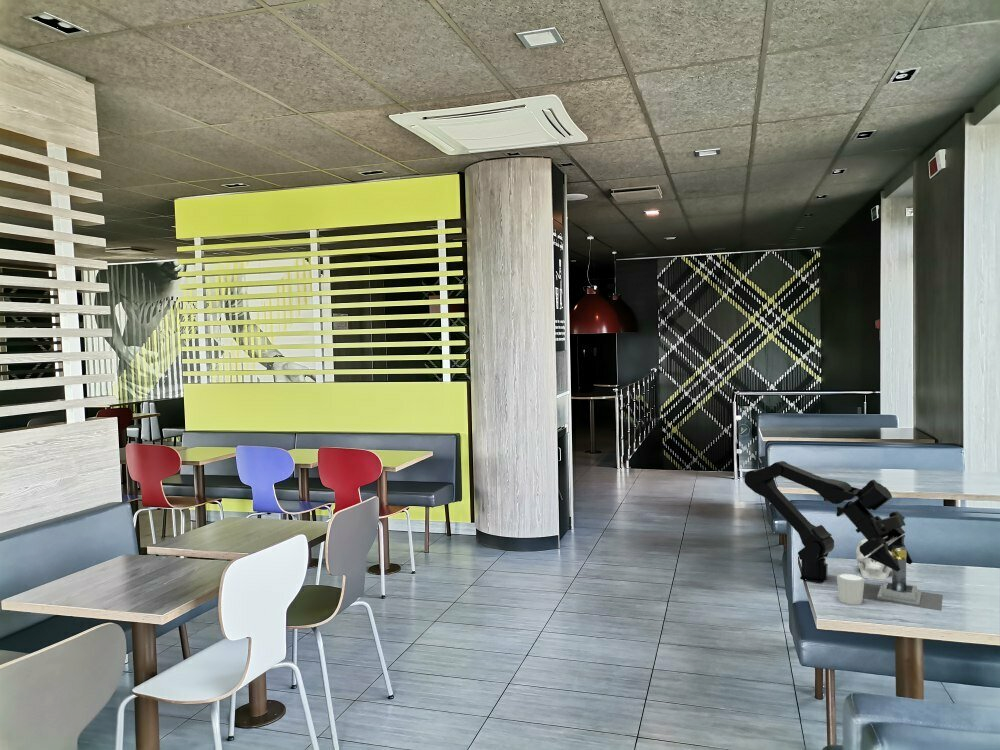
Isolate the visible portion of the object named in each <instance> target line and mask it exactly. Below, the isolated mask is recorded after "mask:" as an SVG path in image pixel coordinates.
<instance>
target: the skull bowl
mask: <svg viewBox="0 0 1000 750" xmlns="http://www.w3.org/2000/svg"><path fill="white" fill-rule="evenodd" d="M866 541H868V540H867V539H866V538H864V539H862V540H860V541H859V542H858V544H857V547H856V553H855V554H856V561H857V565H858V567H859V570H860V574H861V575H862V577H864V578H866V579H871V580H878V581H879V580H886V579H888V578H889V576H890V573H892V569H891V568H889V567H887V566H886V565H884V564H882V563H880V562H877V561H875V560H873V559H871V558H868V556H869V555H871V553H870V554H869V555H867V556H865V557H864V556H863V555H862V554H861V552H860V546H861V545H862V544H864V543H865V542H866ZM888 551H889V550H888ZM889 553H890V554H891V556H892V552H890V551H889Z"/></svg>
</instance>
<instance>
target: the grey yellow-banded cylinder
mask: <svg viewBox="0 0 1000 750" xmlns="http://www.w3.org/2000/svg"><path fill="white" fill-rule="evenodd" d="M906 549H907V547H906V546H905V547H904V546H892V557H893V559H894V560H895V561H896V563H897V564H898V566H899V567H900V570H899V571H898V572H897V571H895V570H893V569H892V571H891V582H892V590H897V591H903V592H906V584H907V563H906Z"/></svg>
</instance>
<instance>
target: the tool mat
mask: <svg viewBox="0 0 1000 750" xmlns="http://www.w3.org/2000/svg"><path fill="white" fill-rule="evenodd" d="M881 586H882V585H880V584H879V585H878V584H873V583H865V582H864V590H863V599H866V600H873V601H878V602H884V603H892V604H898V605H903V606H909V607H910V606H911V607H915V608H921V609H926V610H927V609H928V610H935V611H940V612H941V611H942V607H943V599H944V598H943V594H938V593H933V592H925V591H919V590H917V591H918V592H921V600H920V606H917V605H910V604H904V603H898V602H892V601H885V600H879V599H877V595H878V593H879V590H880V587H881Z"/></svg>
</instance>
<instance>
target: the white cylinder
mask: <svg viewBox="0 0 1000 750" xmlns="http://www.w3.org/2000/svg"><path fill="white" fill-rule="evenodd" d="M865 578H866V577H865V576H863V575H862V576H861V575H858V574H855V573H839V574H837V575H836V581H837V593H838V601H839V602H841V603H843V604H847V605H854V606H855V605H861V604H863V599H864V598H863V590H864V583H865Z"/></svg>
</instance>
